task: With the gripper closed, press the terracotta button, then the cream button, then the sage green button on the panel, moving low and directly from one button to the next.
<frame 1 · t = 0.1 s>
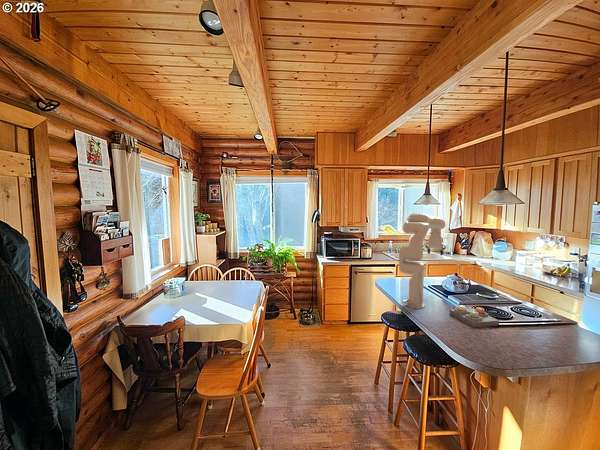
hand: (435, 254, 225), 31 cm above the counter, tool pointing down, fingers open, 9 cm apart
sage button: (474, 314, 163), point 6 cm above the counter, slide at 0.0 cm
terracotta button: (479, 310, 169), point 6 cm above the counter, slide at 0.0 cm
cream button: (461, 308, 173), point 6 cm above the counter, slide at 0.0 cm
button panel: (473, 319, 169), on the counter
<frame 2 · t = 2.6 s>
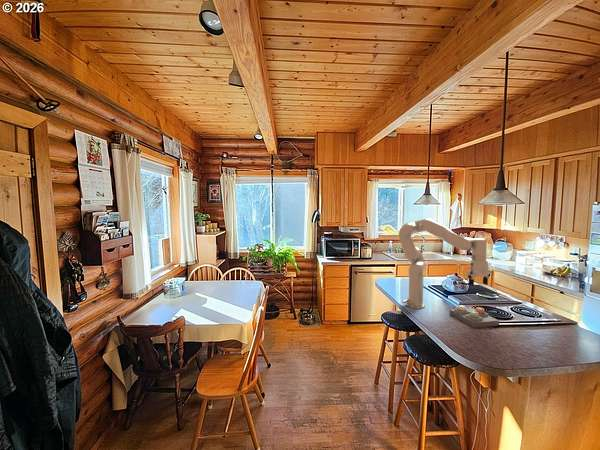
hand: (478, 284, 171), 21 cm above the counter, tool pointing down, fingers open, 9 cm apart
nothing on the counter moved.
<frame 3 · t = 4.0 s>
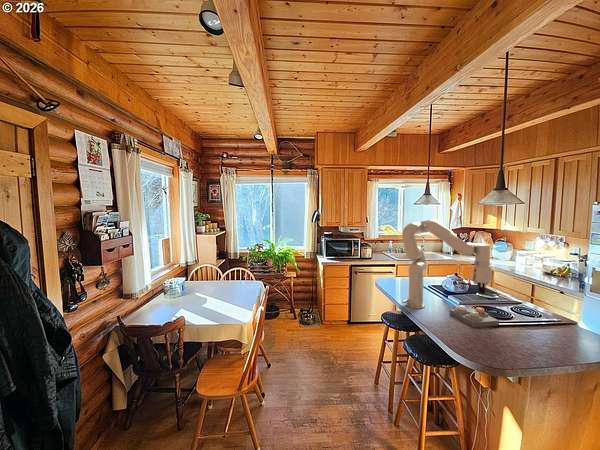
hand: (481, 292, 168), 17 cm above the counter, tool pointing down, fingers closed
nothing on the counter moved.
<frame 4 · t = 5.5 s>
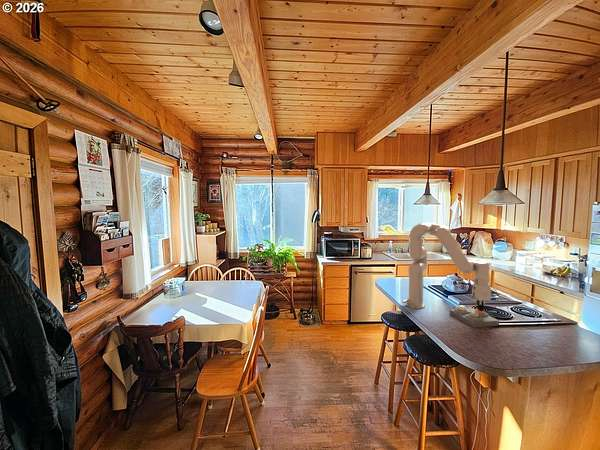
hand: (480, 310, 169), 6 cm above the counter, tool pointing down, fingers closed
terracotta button: (479, 312, 170), point 5 cm above the counter, slide at 1.0 cm, touching gripper
everything else where it was.
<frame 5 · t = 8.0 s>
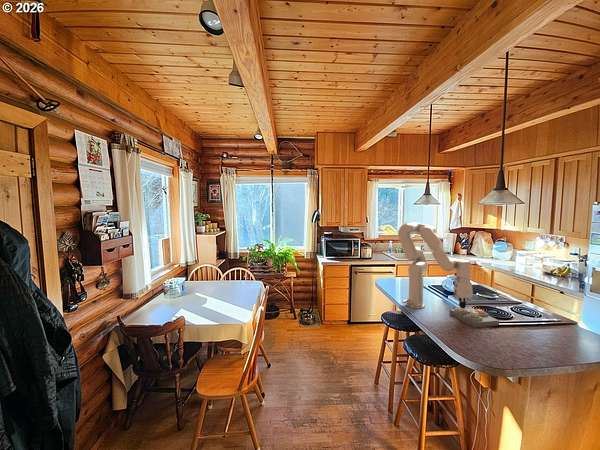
hand: (462, 307, 173), 6 cm above the counter, tool pointing down, fingers closed
terracotta button: (479, 312, 170), point 4 cm above the counter, slide at 1.3 cm
cream button: (461, 309, 173), point 5 cm above the counter, slide at 0.7 cm, touching gripper
everything else where it was.
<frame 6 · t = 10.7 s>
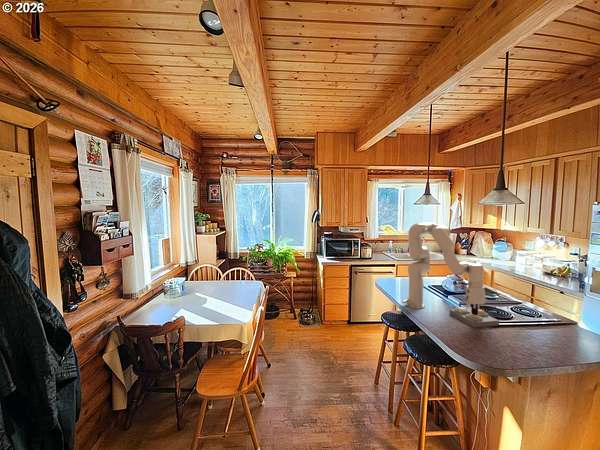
hand: (474, 314, 163), 6 cm above the counter, tool pointing down, fingers closed
sage button: (473, 316, 163), point 5 cm above the counter, slide at 1.1 cm, touching gripper
cream button: (461, 310, 173), point 4 cm above the counter, slide at 1.3 cm
everything else where it was.
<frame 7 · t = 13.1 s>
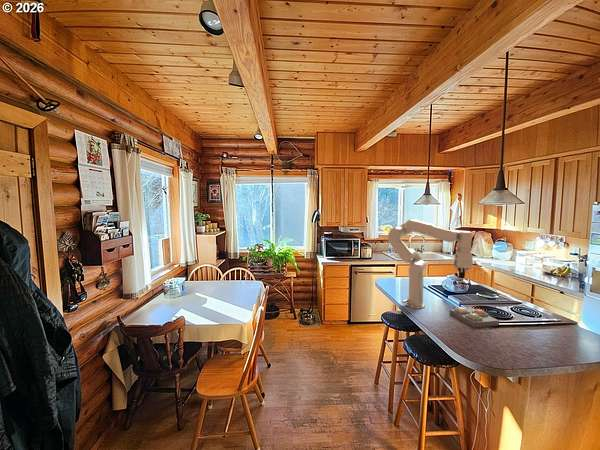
hand: (461, 277, 176), 24 cm above the counter, tool pointing down, fingers closed
sage button: (473, 316, 163), point 4 cm above the counter, slide at 1.3 cm
everything else where it was.
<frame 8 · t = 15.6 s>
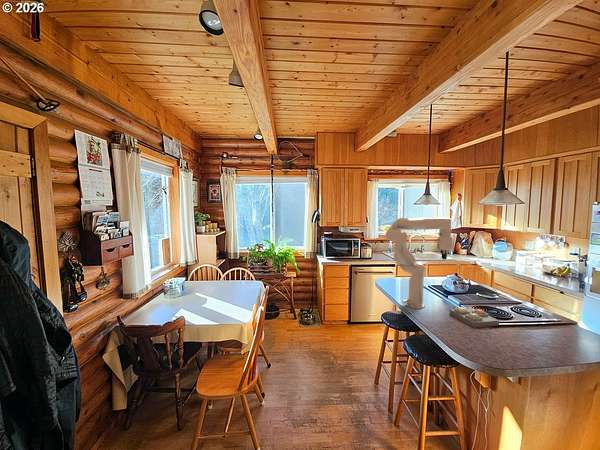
hand: (444, 258, 200), 32 cm above the counter, tool pointing down, fingers closed
nothing on the counter moved.
at the end: terracotta button slide at 1.3 cm; cream button slide at 1.3 cm; sage button slide at 1.3 cm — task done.
